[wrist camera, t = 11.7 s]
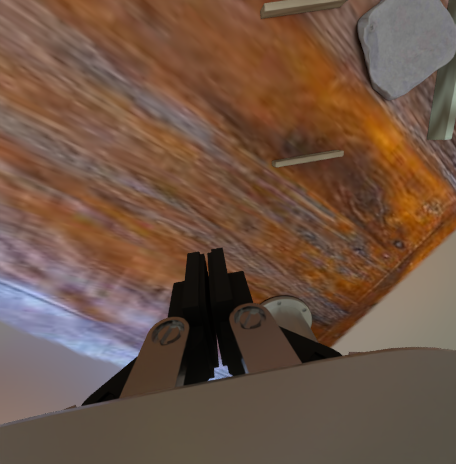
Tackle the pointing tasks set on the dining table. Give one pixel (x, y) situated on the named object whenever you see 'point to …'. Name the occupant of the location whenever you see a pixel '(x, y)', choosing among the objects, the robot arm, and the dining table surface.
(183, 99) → the dining table surface
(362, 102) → the dining table surface
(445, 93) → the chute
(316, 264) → the dining table surface
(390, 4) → the stone block
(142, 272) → the dining table surface
